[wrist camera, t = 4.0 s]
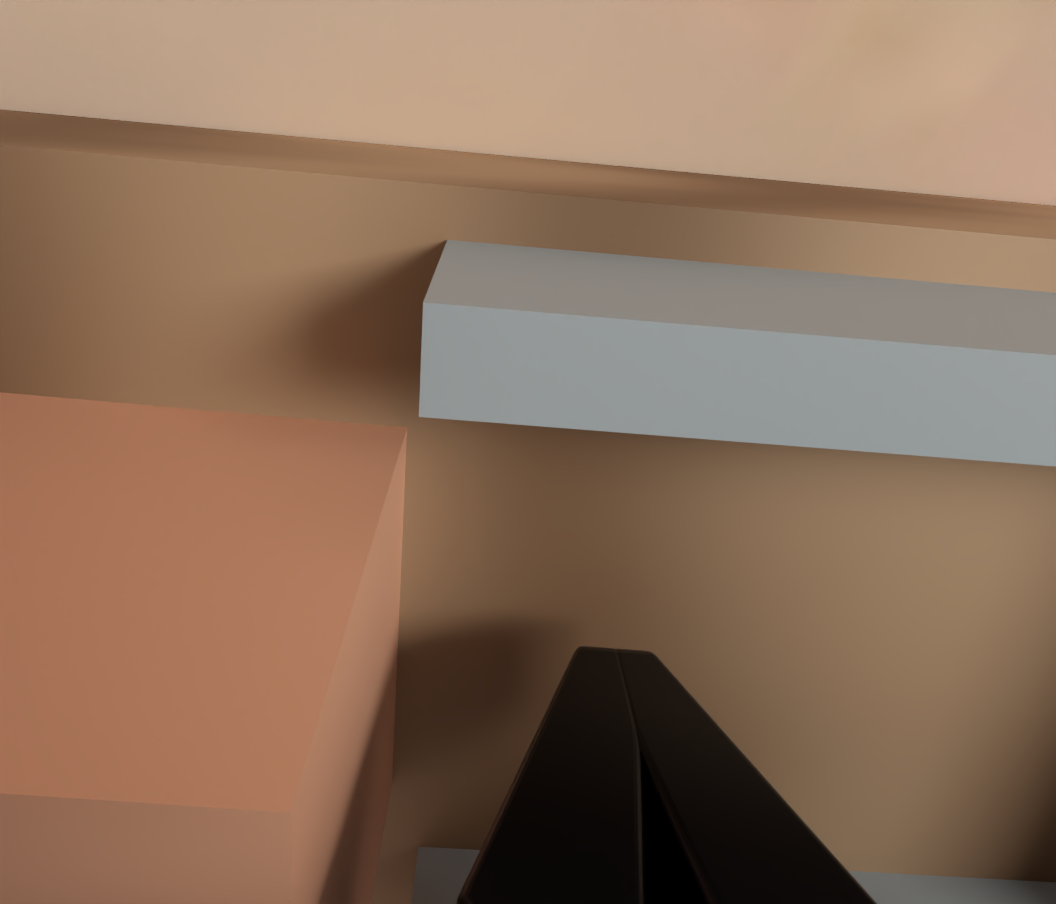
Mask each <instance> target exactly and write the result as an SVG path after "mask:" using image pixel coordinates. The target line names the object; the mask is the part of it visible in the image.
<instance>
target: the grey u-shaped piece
mask: <svg viewBox="0 0 1056 904" xmlns="http://www.w3.org/2000/svg"><path fill="white" fill-rule="evenodd" d="M419 417H427V418H439V419H452V420H465V421H478V422H491V423H504V424H516V425H529V426H542V427H555V428H568V429H581V430H594V431H606V432H619V433H632V434H645V435H658V436H671V437H683V438H696V439H709V440H722V441H735V442H748V443H761V444H773V445H786V446H799V447H812V448H825V449H838V450H850V451H863V452H876V453H889V454H902V455H915V456H928V457H940V458H953V459H966V460H979V461H992V462H1005V463H1017V464H1030V465H1043V466H1056V293H1055V292H1043V291H1032V290H1020V289H1008V288H997V287H985V286H974V285H962V284H951V283H939V282H928V281H916V280H905V279H893V278H882V277H870V276H859V275H847V274H836V273H824V272H813V271H801V270H790V269H778V268H767V267H755V266H744V265H732V264H721V263H709V262H698V261H686V260H675V259H663V258H652V257H640V256H629V255H617V254H606V253H594V252H583V251H571V250H559V249H548V248H536V247H525V246H513V245H502V244H490V243H479V242H467V241H456V240H447V242H446V244H445V247H444V250H443V252H442V255H441V257H440V260H439V262H438V265H437V268H436V270H435V273H434V275H433V278H432V281H431V283H430V286H429V288H428V291H427V294H426V296H425V299H424V301H423V317H422V344H421V372H420V399H419ZM479 852H480V850H470V849H452V848H434V847H418V854H417V862H416V869H415V877H414V885H413V893H412V900H411V904H457V898H458V896H459V894H460V892H461V889H462V887H463V885H464V883H465V881H466V879H467V877H468V875H469V873H470V870H471V868H472V866H473V864H474V862H475V860H476V858H477V856H478V854H479ZM849 873H850V874H851V875H852V876H853V877H854V878H855V879H856V880H857V882H858V883H859V884H860V885H861V886H862V887H863V888H864V889H865V891H866V892H867V893H868V894H869V895H870V896H871V897H872V898H873V900H874V901H875V902H876V903H877V904H1056V882H1038V881H1021V880H1003V879H985V878H967V877H950V876H932V875H914V874H896V873H878V872H861V871H849Z"/></svg>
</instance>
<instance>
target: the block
mask: <svg viewBox="0 0 1056 904" xmlns="http://www.w3.org/2000/svg"><path fill="white" fill-rule="evenodd" d="M406 442H407V428H406V427H394V426H382V425H371V424H359V423H348V422H336V421H325V420H313V419H302V418H290V417H279V416H267V415H256V414H244V413H233V412H221V411H210V410H198V409H186V408H175V407H163V406H152V405H140V404H129V403H117V402H106V401H94V400H83V399H71V398H60V397H48V396H37V395H25V394H14V393H2V392H0V904H371V898H372V893H373V887H374V882H375V876H376V870H377V865H378V859H379V853H380V848H381V842H382V837H383V831H384V825H385V820H386V814H387V808H388V803H389V797H390V792H391V786H392V774H393V750H394V726H395V703H396V679H397V655H398V632H399V608H400V584H401V561H402V537H403V513H404V489H405V466H406Z"/></svg>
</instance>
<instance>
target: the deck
mask: <svg viewBox="0 0 1056 904" xmlns="http://www.w3.org/2000/svg"><path fill="white" fill-rule="evenodd" d="M447 240H456V241H467V242H479V243H490V244H502V245H513V246H525V247H536V248H548V249H559V250H571V251H583V252H594V253H606V254H617V255H629V256H640V257H652V258H663V259H675V260H686V261H698V262H709V263H721V264H732V265H744V266H755V267H767V268H778V269H790V270H801V271H813V272H824V273H836V274H847V275H859V276H870V277H882V278H893V279H905V280H916V281H928V282H939V283H951V284H962V285H974V286H985V287H997V288H1008V289H1020V290H1032V291H1043V292H1055V293H1056V206H1049V205H1038V204H1028V203H1017V202H1006V201H995V200H984V199H973V198H962V197H951V196H940V195H929V194H918V193H907V192H896V191H885V190H874V189H863V188H852V187H841V186H830V185H820V184H809V183H798V182H787V181H776V180H765V179H754V178H743V177H732V176H721V175H710V174H699V173H688V172H677V171H666V170H655V169H644V168H633V167H622V166H612V165H601V164H590V163H579V162H568V161H557V160H546V159H535V158H524V157H513V156H502V155H491V154H480V153H469V152H458V151H447V150H436V149H425V148H414V147H404V146H393V145H382V144H371V143H360V142H349V141H338V140H327V139H316V138H305V137H294V136H283V135H272V134H261V133H250V132H239V131H228V130H217V129H206V128H196V127H185V126H174V125H163V124H152V123H141V122H130V121H119V120H108V119H97V118H86V117H75V116H64V115H53V114H42V113H31V112H20V111H9V110H0V392H2V393H14V394H25V395H37V396H48V397H60V398H71V399H83V400H94V401H106V402H117V403H129V404H140V405H152V406H163V407H175V408H186V409H198V410H210V411H221V412H233V413H244V414H256V415H267V416H279V417H290V418H302V419H313V420H325V421H336V422H348V423H359V424H371V425H382V426H394V427H406V428H407V442H406V466H405V489H404V513H403V537H402V561H401V584H400V608H399V632H398V655H397V679H396V703H395V726H394V750H393V774H392V786H391V792H390V797H389V803H388V808H387V814H386V820H385V825H384V831H383V837H382V842H381V848H380V853H379V859H378V865H377V870H376V876H375V882H374V887H373V893H372V898H371V904H411V900H412V893H413V885H414V877H415V869H416V862H417V854H418V847H434V848H452V849H470V850H480V849H481V847H482V845H483V843H484V841H485V839H486V837H487V835H488V833H489V830H490V828H491V826H492V824H493V822H494V820H495V818H496V816H497V814H498V812H499V809H500V807H501V805H502V803H503V801H504V799H505V797H506V795H507V793H508V790H509V788H510V786H511V784H512V782H513V780H514V778H515V776H516V774H517V772H518V769H519V767H520V765H521V763H522V761H523V759H524V757H525V755H526V753H527V750H528V748H529V746H530V744H531V742H532V740H533V738H534V736H535V734H536V732H537V729H538V727H539V725H540V723H541V721H542V719H543V717H544V715H545V713H546V710H547V708H548V706H549V704H550V702H551V700H552V698H553V696H554V694H555V691H556V689H557V687H558V685H559V683H560V681H561V679H562V677H563V675H564V673H565V670H566V668H567V666H568V664H569V662H570V660H571V658H572V656H573V654H574V652H575V650H576V649H577V648H578V647H580V646H592V647H605V648H614V649H631V650H644V651H650V652H652V653H654V654H655V655H656V656H657V657H658V658H659V659H660V660H661V661H662V662H663V664H664V665H665V666H666V667H667V668H668V669H669V670H670V671H671V673H672V674H673V675H674V676H675V677H676V678H677V679H678V680H679V682H680V683H681V684H682V685H683V686H684V687H685V688H686V689H687V691H688V692H689V693H690V694H691V695H692V696H693V697H694V698H695V700H696V701H697V702H698V703H699V704H700V705H701V706H702V707H703V709H704V710H705V711H706V712H707V713H708V714H709V715H710V716H711V718H712V719H713V720H714V721H715V722H716V723H717V724H718V725H719V726H720V728H721V729H722V730H723V731H724V732H725V733H726V734H727V735H728V737H729V738H730V739H731V740H732V741H733V742H734V743H735V744H736V746H737V747H738V748H739V749H740V750H741V751H742V752H743V753H744V755H745V756H746V757H747V758H748V759H749V760H750V761H751V762H752V764H753V765H754V766H755V767H756V768H757V769H758V770H759V771H760V773H761V774H762V775H763V776H764V777H765V778H766V779H767V780H768V782H769V783H770V784H771V785H772V786H773V787H774V788H775V789H776V791H777V792H778V793H779V794H780V795H781V796H782V797H783V798H784V800H785V801H786V802H787V803H788V804H789V805H790V806H791V807H792V809H793V810H794V811H795V812H796V813H797V814H798V815H799V816H800V818H801V819H802V820H803V821H804V822H805V823H806V824H807V825H808V826H809V828H810V829H811V830H812V831H813V832H814V833H815V834H816V835H817V837H818V838H819V839H820V840H821V841H822V842H823V843H824V844H825V846H826V847H827V848H828V849H829V850H830V851H831V852H832V853H833V855H834V856H835V857H836V858H837V859H838V860H839V861H840V862H841V864H842V865H843V866H844V867H845V868H846V869H847V870H848V871H861V872H878V873H896V874H914V875H932V876H950V877H967V878H985V879H1003V880H1021V881H1038V882H1056V466H1043V465H1030V464H1017V463H1005V462H992V461H979V460H966V459H953V458H940V457H928V456H915V455H902V454H889V453H876V452H863V451H850V450H838V449H825V448H812V447H799V446H786V445H773V444H761V443H748V442H735V441H722V440H709V439H696V438H683V437H671V436H658V435H645V434H632V433H619V432H606V431H594V430H581V429H568V428H555V427H542V426H529V425H516V424H504V423H491V422H478V421H465V420H452V419H439V418H427V417H419V399H420V372H421V344H422V317H423V301H424V299H425V296H426V294H427V291H428V288H429V286H430V283H431V281H432V278H433V275H434V273H435V270H436V268H437V265H438V262H439V260H440V257H441V255H442V252H443V250H444V247H445V244H446V242H447Z"/></svg>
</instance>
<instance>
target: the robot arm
mask: <svg viewBox="0 0 1056 904" xmlns="http://www.w3.org/2000/svg"><path fill="white" fill-rule="evenodd" d="M457 904H877V903H876V902H875V901H874V900H873V898H872V897H871V896H870V895H869V894H868V893H867V892H866V891H865V889H864V888H863V887H862V886H861V885H860V884H859V883H858V882H857V880H856V879H855V878H854V877H853V876H852V875H851V874H850V873H849V871H848V870H847V869H846V868H845V867H844V866H843V865H842V864H841V862H840V861H839V860H838V859H837V858H836V857H835V856H834V855H833V853H832V852H831V851H830V850H829V849H828V848H827V847H826V846H825V844H824V843H823V842H822V841H821V840H820V839H819V838H818V837H817V835H816V834H815V833H814V832H813V831H812V830H811V829H810V828H809V826H808V825H807V824H806V823H805V822H804V821H803V820H802V819H801V818H800V816H799V815H798V814H797V813H796V812H795V811H794V810H793V809H792V807H791V806H790V805H789V804H788V803H787V802H786V801H785V800H784V798H783V797H782V796H781V795H780V794H779V793H778V792H777V791H776V789H775V788H774V787H773V786H772V785H771V784H770V783H769V782H768V780H767V779H766V778H765V777H764V776H763V775H762V774H761V773H760V771H759V770H758V769H757V768H756V767H755V766H754V765H753V764H752V762H751V761H750V760H749V759H748V758H747V757H746V756H745V755H744V753H743V752H742V751H741V750H740V749H739V748H738V747H737V746H736V744H735V743H734V742H733V741H732V740H731V739H730V738H729V737H728V735H727V734H726V733H725V732H724V731H723V730H722V729H721V728H720V726H719V725H718V724H717V723H716V722H715V721H714V720H713V719H712V718H711V716H710V715H709V714H708V713H707V712H706V711H705V710H704V709H703V707H702V706H701V705H700V704H699V703H698V702H697V701H696V700H695V698H694V697H693V696H692V695H691V694H690V693H689V692H688V691H687V689H686V688H685V687H684V686H683V685H682V684H681V683H680V682H679V680H678V679H677V678H676V677H675V676H674V675H673V674H672V673H671V671H670V670H669V669H668V668H667V667H666V666H665V665H664V664H663V662H662V661H661V660H660V659H659V658H658V657H657V656H656V655H655V654H654V653H652V652H650V651H644V650H631V649H614V648H605V647H592V646H580V647H578V648H577V649H576V650H575V652H574V654H573V656H572V658H571V660H570V662H569V664H568V666H567V668H566V670H565V673H564V675H563V677H562V679H561V681H560V683H559V685H558V687H557V689H556V691H555V694H554V696H553V698H552V700H551V702H550V704H549V706H548V708H547V710H546V713H545V715H544V717H543V719H542V721H541V723H540V725H539V727H538V729H537V732H536V734H535V736H534V738H533V740H532V742H531V744H530V746H529V748H528V750H527V753H526V755H525V757H524V759H523V761H522V763H521V765H520V767H519V769H518V772H517V774H516V776H515V778H514V780H513V782H512V784H511V786H510V788H509V790H508V793H507V795H506V797H505V799H504V801H503V803H502V805H501V807H500V809H499V812H498V814H497V816H496V818H495V820H494V822H493V824H492V826H491V828H490V830H489V833H488V835H487V837H486V839H485V841H484V843H483V845H482V847H481V849H480V852H479V854H478V856H477V858H476V860H475V862H474V864H473V866H472V868H471V870H470V873H469V875H468V877H467V879H466V881H465V883H464V885H463V887H462V889H461V892H460V894H459V896H458V898H457Z"/></svg>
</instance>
